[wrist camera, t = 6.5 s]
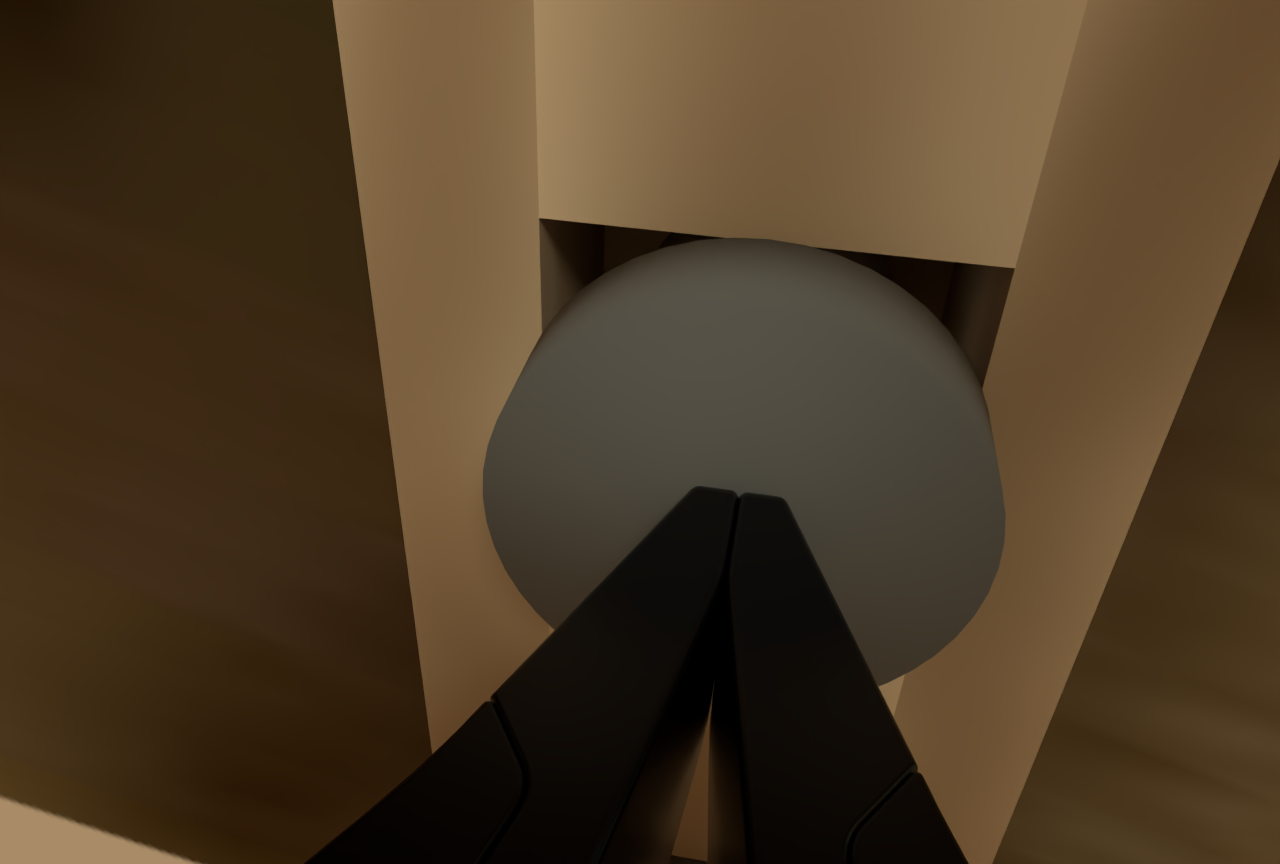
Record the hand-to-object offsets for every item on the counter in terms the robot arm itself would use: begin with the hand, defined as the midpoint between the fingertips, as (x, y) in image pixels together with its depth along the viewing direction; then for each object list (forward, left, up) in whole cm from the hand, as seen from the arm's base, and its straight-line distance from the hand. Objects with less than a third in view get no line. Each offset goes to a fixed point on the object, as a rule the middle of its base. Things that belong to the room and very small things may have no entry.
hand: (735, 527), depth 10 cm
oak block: (0, +5, -6) cm, 7 cm away
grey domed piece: (0, 0, -4) cm, 4 cm away
